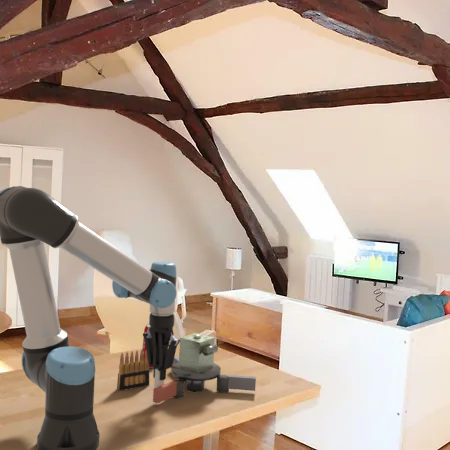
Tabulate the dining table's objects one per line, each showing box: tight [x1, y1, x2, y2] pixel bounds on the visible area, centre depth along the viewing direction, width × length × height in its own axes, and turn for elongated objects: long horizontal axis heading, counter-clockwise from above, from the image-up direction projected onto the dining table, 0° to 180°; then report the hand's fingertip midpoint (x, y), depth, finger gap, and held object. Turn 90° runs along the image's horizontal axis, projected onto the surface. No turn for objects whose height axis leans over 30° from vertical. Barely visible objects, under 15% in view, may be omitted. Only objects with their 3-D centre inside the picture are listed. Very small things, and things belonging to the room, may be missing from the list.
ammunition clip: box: [116, 349, 150, 391], centre depth 185 cm, size 11×2×12 cm, turn 126°
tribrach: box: [170, 332, 221, 393], centre depth 186 cm, size 16×16×18 cm
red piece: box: [152, 379, 186, 404], centre depth 175 cm, size 12×4×5 cm, turn 145°
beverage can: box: [141, 323, 154, 369], centre depth 206 cm, size 6×6×15 cm
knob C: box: [172, 355, 186, 382], centre depth 198 cm, size 12×4×5 cm, turn 25°
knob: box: [216, 374, 257, 394], centre depth 185 cm, size 12×4×5 cm, turn 85°
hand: (159, 389), depth 174 cm, fingers closed
